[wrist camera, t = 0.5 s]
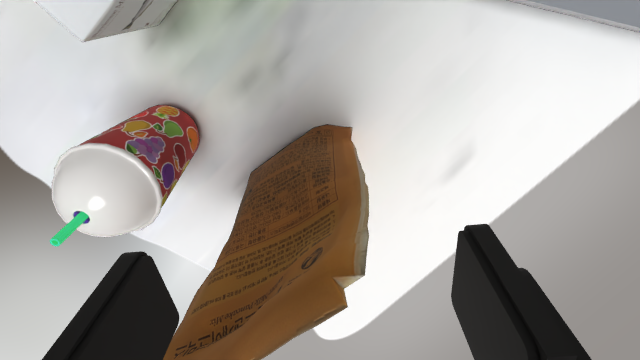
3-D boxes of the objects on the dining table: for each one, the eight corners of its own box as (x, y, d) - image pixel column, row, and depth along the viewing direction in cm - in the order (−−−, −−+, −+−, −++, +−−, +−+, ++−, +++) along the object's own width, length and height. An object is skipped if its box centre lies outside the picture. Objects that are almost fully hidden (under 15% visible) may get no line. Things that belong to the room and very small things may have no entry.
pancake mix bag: (216, 181, 43) (73, 436, 19) (338, 89, 37) (365, 288, 13) (252, 216, 45) (169, 480, 21) (372, 135, 40) (448, 373, 15)
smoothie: (125, 135, 40) (-29, 250, 22) (155, 78, 37) (2, 161, 19) (189, 174, 42) (95, 304, 25) (223, 124, 39) (141, 234, 22)
